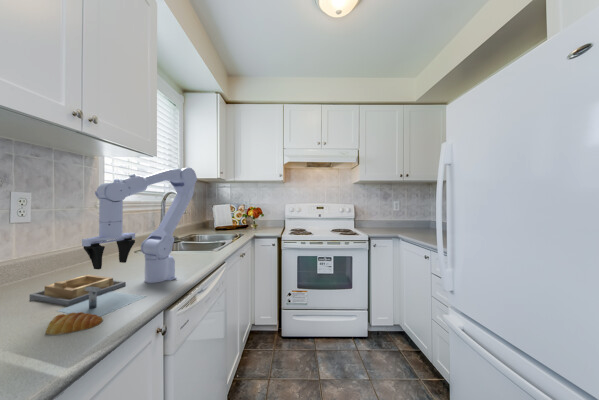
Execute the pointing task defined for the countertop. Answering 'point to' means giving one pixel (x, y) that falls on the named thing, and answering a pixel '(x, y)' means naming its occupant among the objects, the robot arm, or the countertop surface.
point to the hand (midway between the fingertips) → (110, 265)
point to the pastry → (72, 323)
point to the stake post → (92, 296)
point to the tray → (67, 302)
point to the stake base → (103, 303)
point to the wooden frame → (77, 286)
